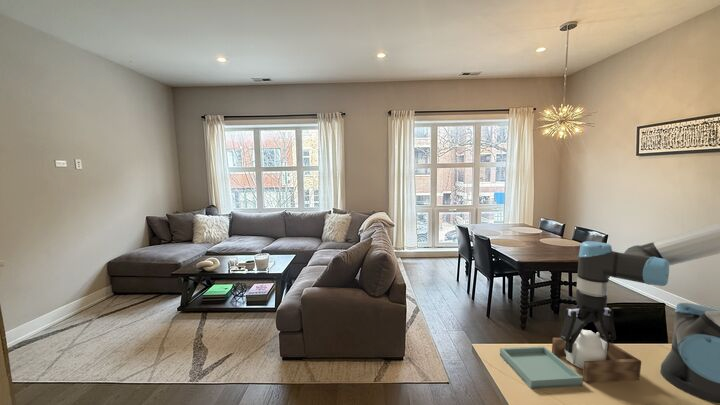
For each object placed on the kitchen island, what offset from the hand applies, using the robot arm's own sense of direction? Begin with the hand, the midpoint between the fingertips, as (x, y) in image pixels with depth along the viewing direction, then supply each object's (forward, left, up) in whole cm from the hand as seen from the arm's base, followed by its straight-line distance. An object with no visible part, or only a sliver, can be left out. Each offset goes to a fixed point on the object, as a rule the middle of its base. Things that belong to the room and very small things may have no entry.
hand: (585, 360), depth 92 cm
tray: (+13, +9, -2) cm, 16 cm away
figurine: (0, 0, -2) cm, 2 cm away
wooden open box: (-2, -1, -2) cm, 3 cm away
